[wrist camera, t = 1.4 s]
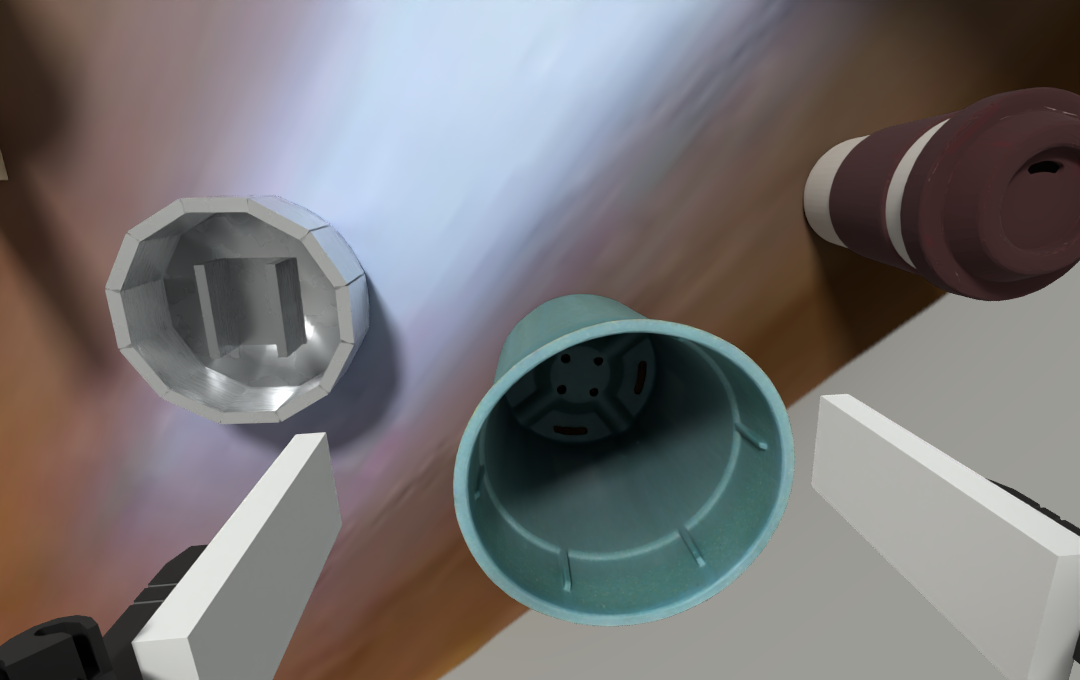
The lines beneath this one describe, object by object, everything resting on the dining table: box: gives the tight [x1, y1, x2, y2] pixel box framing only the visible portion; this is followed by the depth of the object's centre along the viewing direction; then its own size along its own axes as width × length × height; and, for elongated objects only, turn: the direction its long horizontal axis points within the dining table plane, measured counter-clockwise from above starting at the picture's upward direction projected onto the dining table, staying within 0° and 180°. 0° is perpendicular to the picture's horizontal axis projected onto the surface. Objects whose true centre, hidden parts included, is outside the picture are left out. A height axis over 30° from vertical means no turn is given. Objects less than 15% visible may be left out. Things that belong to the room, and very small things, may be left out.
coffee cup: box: [804, 87, 1080, 301], centre depth 32 cm, size 10×10×15 cm
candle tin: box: [105, 195, 370, 424], centre depth 36 cm, size 14×14×5 cm
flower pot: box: [453, 294, 795, 626], centre depth 34 cm, size 16×16×16 cm
